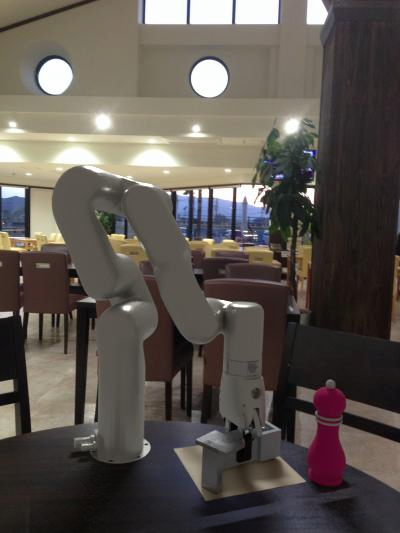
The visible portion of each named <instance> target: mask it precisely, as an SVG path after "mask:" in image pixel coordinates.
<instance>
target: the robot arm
mask: <svg viewBox="0 0 400 533" xmlns="http://www.w3.org/2000/svg"><path fill="white" fill-rule="evenodd" d="M173 209H174V204H173V201H172V198H171V196H170V194H169V193H168V192H167V191H166V190H164V189H163V188H162V187H159V186H157V185H156V186H155V185H154V184H151V183H148V182H147V183H146V182H139V181H135V180H133V179H130V178H126V177H124V176H121V175H117V174H115V173H112V172H109V171H106V170H104V169H100V168H98V167H95V166H91V165H83V164H82V165H76V166H75V165H74V166H72V167H70V168H69V169H67V170H66V171H65V170H64V172H63V173H62V174H61V175H60V176H59V178H58V180H57V181H56V183H55V185H54V187H53V190H52V196H51V210H52V211H51V212H52V215H53V218H54V221H55V224H56V226H57V229H58V231H59V233H60V235H61V237H62V239H63V242H64V244H65V246H66V248H67V249H66V250H67V251H68V254H69V258H70V259H71V262H72V264H73V266H74V268H75V269H74V270H76V273H77V275H78V279H79V280H80V283H81V286H82V288H83V290H84V292H85V293H86V294H87V296H89V297H90V298H91V299H93V300H96V301H100V302H103V301H109V303H110V305H111V306H110V307H108V308H107V309H105V310H104V311H103V312H102V313H101V314H100V316H99V317H98V319H97V321H96V325H95V332H94V334H95V343H96V350H97V359H98V363H97V364H98V371H97V372H98V373H97V374H98V377H97V378H98V386H97V387H98V390H97V392H98V398H97V399H98V402H97V428H96V429H94V433H92V434H90V435H89V436H84V437H83V436H80V437H73V446H74V448H75V449H76V448H81V452H89V453H90V455H91V456H92V457H93V459H96V460H97V461H100V462H104V463H108V464H126V463H132V462H135V461H138V460H141V459H142V458H145V456H147V455H148V454H149V453H150V451H151V448H152V447H151V444H150V442H149V441H148V440H147V439H146V438H145V410H146V409H145V403H146V402H145V401H146V400H145V399H146V361H145V360H146V358H145V352H144V341H145V340H146V339H148V338H149V337H150V336H152V334H153V333H154V332H155V330H156V329H157V327H158V322H159V313H158V309H157V306H156V304H155V302H154V299H153V296H152V294H151V292H150V290H149V287H148V285H147V283H146V280H145V277H144V276H143V274H142V271H141V268H139V265H138V264H137V263H136V262H135V260H133V259H132V258H131V257H130V256H128V255H127V254H124V253H119V252H115V249H114V247H113V245H112V243H111V241H110V239H109V235H108V233H107V230H106V229H105V227H104V226H103V224H102V222H101V221H100V220H99V218H98V215H97V214H96V211H101V212H106V213H110V214H113V215H116V216H119V217H122V218H125V219H126V222H127V223H128V224H129V226H130V227H129V228H130V229H131V230H132V232H133V234H134V236H135V237H136V239H137V241H138V242H139V244H140V246H141V247H142V251H143V252H144V254H145V256H146V258H147V259H148V262H149V263H150V266H151V267H152V270H153V276H154V280H155V282H156V284H157V289H158V292H159V295H160V298H161V300H162V302H163V304H164V307H165V309H166V310H167V312H168V314H169V316H170V318H171V319H172V321H173V323H174V325H175V327H176V328H177V330H178V331H179V333H180V334H181V336H183V337H184V338H185V340H187V341H188V342H189V343H190V342H191V343H192V344H196V345H205V344H208V343H211V342H212V341H213V340H214V339H215V338H216V337H217V336H218V335H220V334H222V335H223V356H222V357H223V359H222V373H221V379H220V387H219V399H218V400H219V401H218V406H219V413H220V415H221V418H222V419H223V422H224V433H226V432H231V431H235V430H239V440H240V441H243V442H245V447H244V448H242V449H240V450H238V451H237V459H236V461H237V462H238V463H242V462H245V461H249V460H251V456H252V442H253V441H254V439H255V438H259V437H262V436H263V434H262V430H261V427H263V426H265V421H267V420H266V418H267V417H266V415H267V410H266V407H267V405H266V404H267V403H266V389H265V388H266V387H265V380H264V377H263V376H262V370H263V369H262V368H263V367H262V364H263V345H264V344H263V342H264V322H265V321H264V320H265V312H264V308H263V306H262V305H261V304H259V303H256V302H252V301H251V302H249V301H227V300H223V299H218V298H214V297H206V296H205V294H204V293H203V290H202V288H201V286H200V285H199V283H198V280H197V278H196V276H195V275H196V274H195V272H194V268H193V263H192V250H191V245H190V243H189V242H188V240H187V238H186V236H185V235H184V233H183V231H182V229H181V227H180V226H179V224H178V222H177V220H176V219H175V216H174V215H173ZM246 430H248V431H249V433H247V434H246V435H245V431H246Z"/></svg>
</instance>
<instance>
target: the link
mask: <svg viewBox="0 0 400 533" xmlns="http://www.w3.org/2000/svg"><path fill="white" fill-rule="evenodd" d="M265 426H268V427H269V431H265V432H262V434H263V436H262V437H259V438H255V439H254V441H253V442H252V456H251V460H249V461H245V462H242V463H238V462H237V461H236V459H237V452H235V453H233V454H231V455H230V456H228V457H226V458H225V457H223V469H226V468H230V467H233V466H237V465H240V464H244V463H247V462H251V461H254V460H259V461H260V462H262V461H265V460H269V459H272V458H275V457H279V456H280V457H281V448H282V446H281V445H282V443H281V442H282V429H281V428H279V427H278V426H276V425H274V424H273V423H270V422H269V421H267V420H265ZM222 433H223V432H222ZM247 433H249V431H248V430H246V431H245V435H246V434H247ZM223 434H226V435H228V436H231V437H233V438H235V439H238V440H239V430H235V431H231V432H224V433H223Z"/></svg>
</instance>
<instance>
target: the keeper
mask: <svg viewBox="0 0 400 533" xmlns="http://www.w3.org/2000/svg"><path fill="white" fill-rule="evenodd" d="M195 445H196V446H197V445H199V446H202V447H203V453H202V481H201V487H202V488H204V489H206V490H208V491H210V492H211V493H213V494H215V495H217V494H219V493H220V492H222V472H223V457H225V458H226V457H228V456H230V455H231V454H233V453H235V452H237V451H238V450H240V449H242V448H244V447H245V442H243V441H240V440H238V439H235V438H233V437H231V436H228V435H226V434H223V432H221V431H218V430H216V429H214V430H212V431H210V432H208V433H206V434H204V435H202V436H200V437H197V438H196V439H195Z"/></svg>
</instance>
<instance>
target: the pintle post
mask: <svg viewBox="0 0 400 533" xmlns="http://www.w3.org/2000/svg"><path fill="white" fill-rule="evenodd" d="M261 430H262V432H265V431H269V427H268V426H263V427H261Z"/></svg>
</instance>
